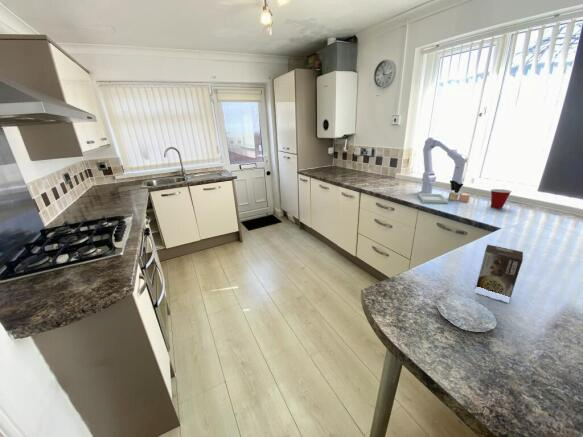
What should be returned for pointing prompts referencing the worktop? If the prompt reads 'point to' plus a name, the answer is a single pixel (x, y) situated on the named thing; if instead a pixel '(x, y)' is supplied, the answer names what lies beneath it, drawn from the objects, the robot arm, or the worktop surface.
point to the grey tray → (432, 198)
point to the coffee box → (499, 270)
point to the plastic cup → (499, 197)
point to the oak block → (453, 196)
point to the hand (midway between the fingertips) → (454, 191)
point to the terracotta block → (464, 197)
